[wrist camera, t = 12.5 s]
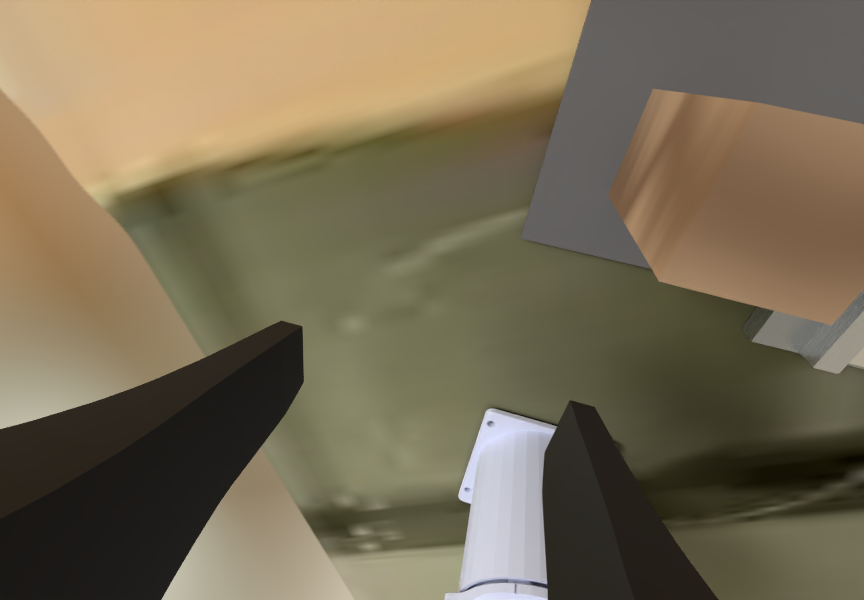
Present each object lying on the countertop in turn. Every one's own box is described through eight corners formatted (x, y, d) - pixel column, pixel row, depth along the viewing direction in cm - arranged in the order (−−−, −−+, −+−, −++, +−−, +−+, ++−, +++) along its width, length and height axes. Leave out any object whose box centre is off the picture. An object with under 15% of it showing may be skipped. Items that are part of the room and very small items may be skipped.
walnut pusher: (706, 218, 16) (831, 325, 9) (607, 195, 16) (659, 281, 10) (767, 112, 14) (988, 150, 7) (652, 88, 14) (759, 102, 7)
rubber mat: (743, 287, 17) (747, 291, 17) (521, 235, 18) (520, 238, 18) (930, 11, 12) (941, 9, 12) (603, -39, 13) (604, -42, 13)
